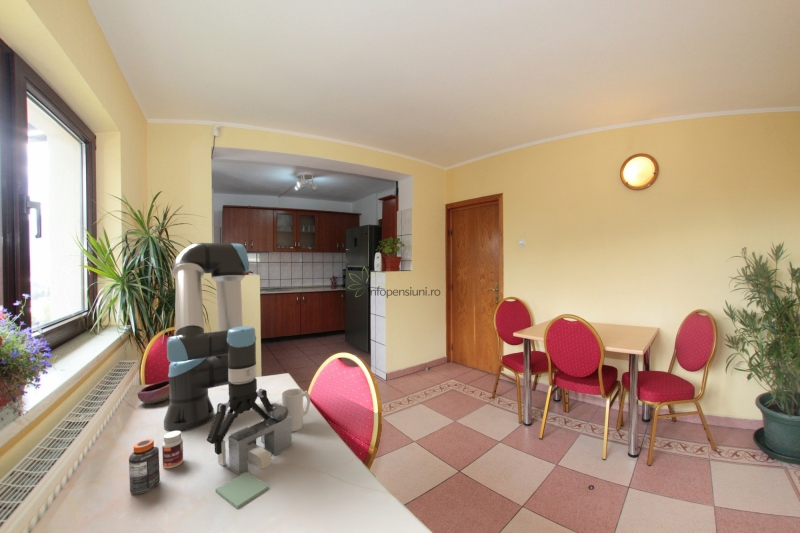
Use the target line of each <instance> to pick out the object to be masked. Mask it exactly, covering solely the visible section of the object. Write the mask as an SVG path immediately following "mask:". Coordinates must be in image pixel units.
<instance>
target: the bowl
mask: <svg viewBox="0 0 800 533" xmlns="http://www.w3.org/2000/svg"><path fill="white" fill-rule="evenodd" d="M137 397H138V400H139V401H141V402H142V403H144V404H151V403H152V404H156V403H157V402H158V403H160V402H164V401H166V400H167V399H168V398H169V399H170V397H169V379H166V380H163V381H159V382H155V383H152V384H149V385H147V386H145V387H143V388H142V389H140V390H139V391H138V393H137Z"/></svg>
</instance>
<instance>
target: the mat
mask: <svg viewBox="0 0 800 533" xmlns="http://www.w3.org/2000/svg"><path fill="white" fill-rule="evenodd" d="M269 489H270V485H268V484H267V483H265V482H263V481H262V480H260V479H259V478H257V476H254V475H253V474H251V473H249V471H247V472H245V473H243V474H241V475H240V476H239V475H237V477H234V478H233V479H231V480H230V481H228V482H225V483H224V484H222V485H221V486H219V487H217V488H216V489H215V493H217V494H218V495H219V496H220V497H221V498H222V499H224V500H225V501H227V503H228V504H231V505H232V506H233V507H234V508H235V509H237V510H238V509H240V508H241V507H242V506H244V505H245V504H247V503H248V502H251V501H252V500H253V499H254V498H256V497H257V496H259V495H261V494H263V493H264V492H265V491H267V490H269Z"/></svg>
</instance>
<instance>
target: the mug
mask: <svg viewBox="0 0 800 533" xmlns="http://www.w3.org/2000/svg"><path fill="white" fill-rule="evenodd" d="M308 392H309V391H308V390H303V389H302V388H290V389H287V390H284V391H283V392H281V399H282V400H281V402H282V404H281V405H282V406H284V407H287V408H288V415H289V416H291V421H292V432H297V431H299V430H301V429H302V428H303V427H304V416H305V415H308V413H309V409H310V405H311V398H310V394H309V393H308ZM304 397H305V398H306V405H305V408H304Z"/></svg>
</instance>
